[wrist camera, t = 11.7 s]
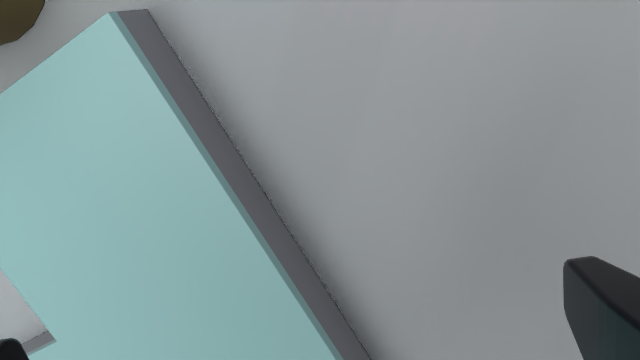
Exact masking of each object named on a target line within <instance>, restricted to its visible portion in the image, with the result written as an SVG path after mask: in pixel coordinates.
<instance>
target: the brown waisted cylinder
mask: <svg viewBox="0 0 640 360" xmlns="http://www.w3.org/2000/svg"><path fill="white" fill-rule="evenodd" d="M44 1H45V0H0V45H3V44H6V43H9V42H12V41H15V40H18V39H19V38H20V37H21V36H22V35H23V34H24V33H26V32H27V31H28V30H29V29H30V28H31V27H32V26H33V25H34V23H35V21H36V19H37V17H38V16H39V14H40V12H41V10H42V8H43V6H44Z"/></svg>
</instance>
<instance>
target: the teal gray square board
mask: <svg viewBox="0 0 640 360" xmlns="http://www.w3.org/2000/svg"><path fill="white" fill-rule="evenodd" d="M0 269H1V270H2V271H3V273H4V274H5V275H6V277H7V278H8V279H9V280H10V282H11V283H12V284H13V286H14V287H15V288H16V289H17V291H18V292H19V293H20V295H21V296H22V297H23V298H24V300H25V301H26V302H27V304H28V305H29V306H30V307H31V309H32V310H33V311H34V313H35V314H36V315H37V316H38V318H39V319H40V320H41V322H42V323H43V324H44V325H45V327H46V328H47V329H48V331H47V332H45V333H43V334H41V335H39V336H37V337H35V338H33V339H31V340H29V341H27V342H25V343H23V344H21V345H22V347H23V348H24V350H25V352H26V354H27V356H28V358H29V360H371V359H370V358H369V356H368V355H367V353H366V351H365V350H364V348H363V347H362V345H361V344H360V342H359V340H358V339H357V337H356V336H355V334H354V333H353V331H352V330H351V328H350V326H349V325H348V323H347V322H346V320H345V319H344V317H343V315H342V314H341V312H340V311H339V309H338V308H337V306H336V305H335V303H334V301H333V300H332V298H331V297H330V295H329V294H328V292H327V290H326V289H325V287H324V286H323V284H322V283H321V281H320V280H319V278H318V276H317V275H316V273H315V272H314V270H313V269H312V267H311V266H310V264H309V262H308V261H307V259H306V258H305V256H304V255H303V253H302V251H301V250H300V248H299V247H298V245H297V244H296V242H295V241H294V239H293V237H292V236H291V234H290V233H289V231H288V230H287V228H286V226H285V225H284V223H283V222H282V220H281V219H280V217H279V216H278V214H277V212H276V211H275V209H274V208H273V206H272V205H271V203H270V201H269V200H268V198H267V197H266V195H265V194H264V192H263V191H262V189H261V187H260V186H259V184H258V183H257V181H256V180H255V178H254V176H253V175H252V173H251V172H250V170H249V169H248V167H247V166H246V164H245V162H244V161H243V159H242V158H241V156H240V155H239V153H238V151H237V150H236V148H235V147H234V145H233V144H232V142H231V141H230V139H229V137H228V136H227V134H226V133H225V131H224V130H223V128H222V126H221V125H220V123H219V122H218V120H217V119H216V117H215V116H214V114H213V112H212V111H211V109H210V108H209V106H208V105H207V103H206V101H205V100H204V98H203V97H202V95H201V94H200V92H199V91H198V89H197V87H196V86H195V84H194V83H193V81H192V80H191V78H190V76H189V75H188V73H187V72H186V70H185V69H184V67H183V66H182V64H181V62H180V61H179V59H178V58H177V56H176V55H175V53H174V51H173V50H172V48H171V47H170V45H169V44H168V42H167V41H166V39H165V37H164V36H163V34H162V33H161V31H160V30H159V28H158V26H157V25H156V23H155V22H154V20H153V19H152V17H151V16H150V14H149V12H148V11H147V9H143V10H131V11H119V12H108V13H106V14H105V15H104V16H102V17H101V18H100V19H99V20H97V21H96V22H95V23H93V24H92V25H91V26H89V27H88V28H87V29H85V30H84V31H83V32H81V33H80V34H79V35H77V36H76V37H75V38H73V39H72V40H71V41H70V42H68V43H67V44H66V45H64V46H63V47H62V48H60V49H59V50H58V51H56V52H55V53H54V54H52V55H51V56H50V57H48V58H47V59H46V60H44V61H43V62H42V63H41V64H39V65H38V66H37V67H35V68H34V69H33V70H31V71H30V72H29V73H27V74H26V75H25V76H23V77H22V78H21V79H19V80H18V81H17V82H15V83H14V84H13V85H12V86H10V87H9V88H8V89H6V90H5V91H4V92H2V93H1V94H0Z"/></svg>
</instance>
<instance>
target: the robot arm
mask: <svg viewBox="0 0 640 360" xmlns="http://www.w3.org/2000/svg"><path fill="white" fill-rule="evenodd" d="M563 287H564V309H565V314H566V317H567V320H568V323H569V325H570V327H571V330H572V332H573V335H574V337H575V340H576V342H577V344H578V347H579V349H580V352H581V354H582V357H583V359H584V360H640V278H639V277H637V276H635V275H633V274H631V273H629V272H627V271H624V270H622V269H620V268H618V267H616V266H614V265H612V264H609V263H607V262H605V261H603V260H601V259H599V258H596V257H593V256H588V257H581V258H574V259H568V260H567V261H566V262H565V263H564V267H563ZM0 360H29V358H28V356H27V354H26V352H25V350H24V348H23V347H22V345H21V343H20V342H19V341H18V340H16V339H13V338H8V339H1V340H0Z"/></svg>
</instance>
